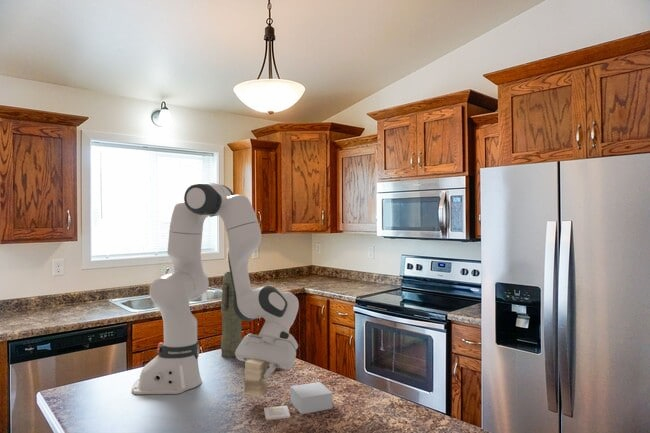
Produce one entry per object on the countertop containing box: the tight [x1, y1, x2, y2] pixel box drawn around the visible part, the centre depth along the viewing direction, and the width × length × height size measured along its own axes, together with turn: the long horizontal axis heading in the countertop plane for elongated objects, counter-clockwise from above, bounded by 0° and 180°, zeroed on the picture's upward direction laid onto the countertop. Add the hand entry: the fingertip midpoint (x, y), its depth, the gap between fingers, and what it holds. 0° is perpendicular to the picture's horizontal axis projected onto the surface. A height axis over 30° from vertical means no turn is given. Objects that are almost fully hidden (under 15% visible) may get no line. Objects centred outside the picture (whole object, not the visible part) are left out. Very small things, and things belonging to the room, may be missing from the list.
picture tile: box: [263, 405, 291, 421], centre depth 130 cm, size 7×7×1 cm
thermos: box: [220, 271, 244, 359], centre depth 187 cm, size 9×12×35 cm
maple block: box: [244, 358, 268, 398], centre depth 137 cm, size 5×5×10 cm
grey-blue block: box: [289, 381, 333, 415], centre depth 136 cm, size 10×10×5 cm
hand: (255, 376), depth 136 cm, fingers closed on maple block, 5 cm apart
